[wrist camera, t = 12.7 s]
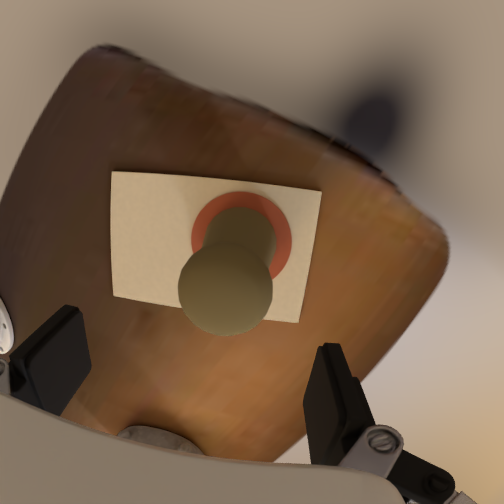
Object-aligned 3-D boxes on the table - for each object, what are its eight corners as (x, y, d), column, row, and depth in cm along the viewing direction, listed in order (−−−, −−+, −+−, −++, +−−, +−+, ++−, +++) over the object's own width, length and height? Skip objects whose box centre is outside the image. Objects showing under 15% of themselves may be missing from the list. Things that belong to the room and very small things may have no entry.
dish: (201, 483, 39) (196, 507, 34) (119, 456, 38) (109, 478, 33) (223, 439, 34) (218, 469, 29) (120, 405, 33) (107, 432, 29)
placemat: (114, 294, 28) (112, 296, 28) (113, 171, 25) (110, 171, 24) (298, 321, 28) (298, 324, 28) (321, 191, 24) (322, 192, 24)
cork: (223, 193, 24) (189, 222, 14) (290, 228, 25) (305, 281, 15) (192, 257, 26) (147, 321, 16) (255, 288, 27) (247, 369, 16)
